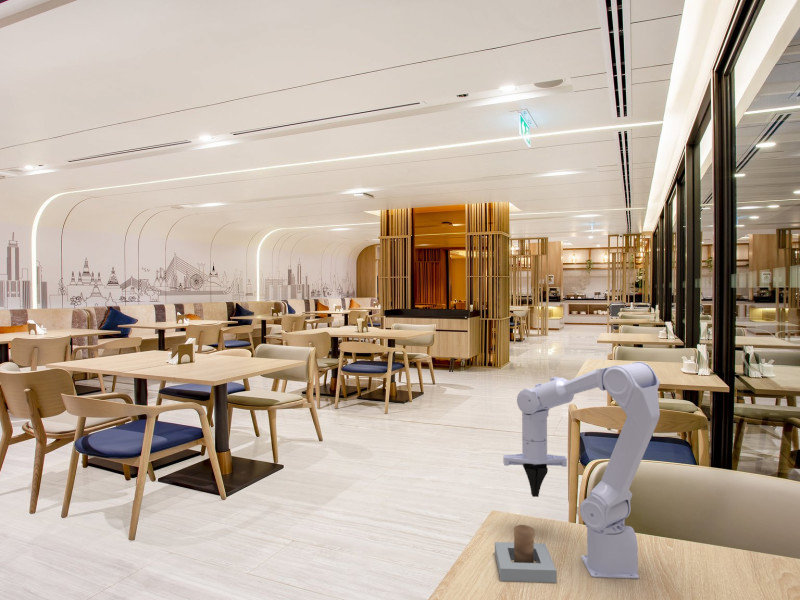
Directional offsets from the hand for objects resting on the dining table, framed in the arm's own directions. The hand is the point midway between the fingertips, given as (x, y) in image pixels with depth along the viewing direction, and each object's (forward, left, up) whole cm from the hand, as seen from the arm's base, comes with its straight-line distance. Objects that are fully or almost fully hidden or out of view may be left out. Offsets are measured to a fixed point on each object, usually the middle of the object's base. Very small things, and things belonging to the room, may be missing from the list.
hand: (534, 495), depth 123 cm
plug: (+5, +15, -9) cm, 18 cm away
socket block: (+5, +15, -9) cm, 18 cm away
